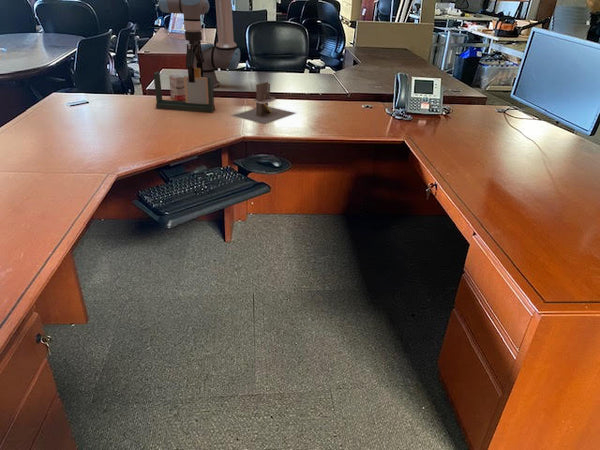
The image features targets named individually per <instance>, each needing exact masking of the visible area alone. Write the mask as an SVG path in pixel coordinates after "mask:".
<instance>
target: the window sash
mask: <svg viewBox="0 0 600 450" xmlns="http://www.w3.org/2000/svg"><path fill="white" fill-rule="evenodd" d="M193 68H194V67H193ZM194 75H195V83H190V82H189V79H188V75H183V77H184V86H185V99H186V100H185V101H186V103H196V104H209V98H208V79H207V78H205V77H201V69H200V68H194Z"/></svg>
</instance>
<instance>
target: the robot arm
mask: <svg viewBox="0 0 600 450" xmlns="http://www.w3.org/2000/svg"><path fill="white" fill-rule="evenodd" d="M232 5H233V3H232V0H215V11H216V12H215V15H216V29H217V42H216V43H215V45H214V43H202V40H203V33H202V16H204V15H206V14H207V13H208V12H209V10H210V3H209V0H158V7H159V10H160V12H162V13H166V14H167V13H168V14H178V15H180V14H181V15H183V23H182V24H183V25H184V26H183V29H184V40H185V41H188V43H187V44H186V54H185V55H186V57H185V68H186V69H187V76H188V79H189V82H190V83H195V75H194V68H200V69H201V77H205V78H207V77H209V76H213V89H215V88H218V87H219V85H220V82H219V81H218V78H217V74H216V69H219V70H229V71H230V70H236V69H238V67H239V65H240V61H241V49H240V48H239V47H238V46H237V43H236V42H235V41H234V39H235V38H234V22H233V21H234V20H233V6H232Z"/></svg>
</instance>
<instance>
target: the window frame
mask: <svg viewBox="0 0 600 450" xmlns="http://www.w3.org/2000/svg"><path fill="white" fill-rule="evenodd" d="M152 75H153V82H154V92H155V100H156V101H155V102H156V103H155V108H156V110H166V111H168V110H169V111H180V112H194V113H208V114H212V113H213V112H215V110H216V105H215V95H214V88H213V76H209V77H207V79H208V98H209V104H196V103H186V100H181V101H177V100H174V99H163V92H162V83H161V82H162V81H161V73H160V71H156V72H154V73H153V74H152Z"/></svg>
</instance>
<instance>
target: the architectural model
mask: <svg viewBox="0 0 600 450" xmlns="http://www.w3.org/2000/svg"><path fill="white" fill-rule="evenodd" d="M255 92H256V93H255V95H256V97H255V99H253V101H254V102H255V103H256V104H255V106H256V107H255V108H253V109H250V110H246V111H243V112H239V113H237V114H233V115H232V116H233V117H237V118H240V119H244V120H248V121H252V122H255V123H256V122H257V123H260V124H264V125H265V124H268V123H271V122H275V121H277V120H280V119H283V118H285V117H288V116H291V115H294V114H295V112H293V111H288V110H285V109H280V108H275V107H271V106H269V103H272V102H274V101H277V100H276V99H277V98H276V97H274V96H271V83H269V81H265V82H261V83H257V84H256V85H255Z"/></svg>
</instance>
